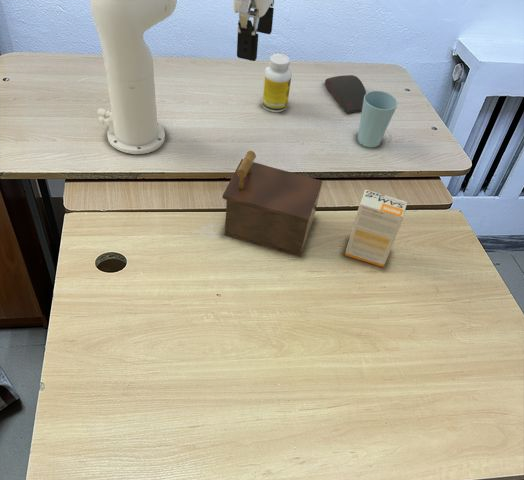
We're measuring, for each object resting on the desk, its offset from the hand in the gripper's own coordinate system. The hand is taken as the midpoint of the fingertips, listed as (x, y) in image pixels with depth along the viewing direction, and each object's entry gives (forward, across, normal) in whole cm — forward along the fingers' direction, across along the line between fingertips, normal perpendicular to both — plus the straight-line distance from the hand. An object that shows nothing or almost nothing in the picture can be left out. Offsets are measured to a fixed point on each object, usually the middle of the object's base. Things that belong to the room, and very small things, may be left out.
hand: (254, 44), depth 89 cm
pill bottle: (+30, -34, -2) cm, 45 cm away
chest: (+30, +8, +8) cm, 32 cm away
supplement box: (+31, +9, +28) cm, 42 cm away
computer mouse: (+30, -46, +14) cm, 56 cm away
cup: (+31, -29, +23) cm, 48 cm away
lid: (+22, +8, +8) cm, 24 cm away
